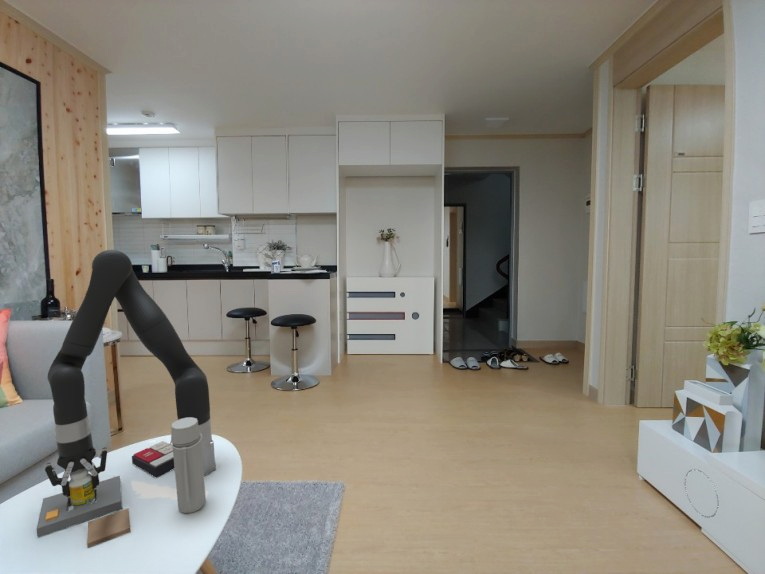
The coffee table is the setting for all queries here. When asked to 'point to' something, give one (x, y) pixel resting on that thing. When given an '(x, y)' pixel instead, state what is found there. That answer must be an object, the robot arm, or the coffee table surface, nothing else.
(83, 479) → the supplement bottle
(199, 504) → the water bottle
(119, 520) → the coaster pad
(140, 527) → the coffee table surface
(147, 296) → the robot arm
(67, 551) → the coffee table surface
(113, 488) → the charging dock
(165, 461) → the calculator
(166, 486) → the coffee table surface
